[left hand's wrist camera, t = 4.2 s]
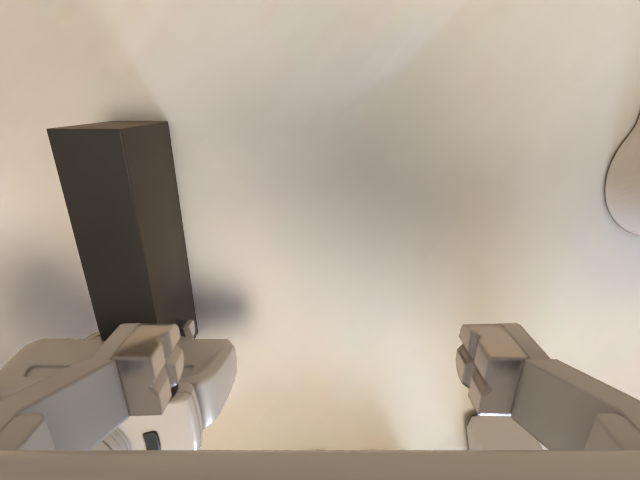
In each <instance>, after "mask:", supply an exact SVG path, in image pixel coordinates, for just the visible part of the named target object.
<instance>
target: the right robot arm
mask: <svg viewBox="0 0 640 480" xmlns="http://www.w3.org/2000/svg"><path fill="white" fill-rule="evenodd" d="M177 326H178V327H179V331H180V335H181V337H180V339H179V341H178V342H177V344H178V345H179V346H180V347H181V348H182V349H183V354H184V367H183V372H182V376H181V378H180V380H179V382H178V384H176V385H175V386H174V387H172V388H171V394H172V396H171V398H170V400H169V402H168V404H167V406H166V408H165V410H164V412H163V414H162V415H149V416H129V419H127V420H126V421H125V422H124V423H123V424H121V425H120V426H119V427H118V428H117V429H115V430H114V431H113V432H112V433H111V434H109V435H108V436H107V437H106V438H105V439H103V440H102V441H101V442H100V443H99V444H97V445H96V446H95V447H94V448H93V449H92V450H201V447H202V429H204V428H206V427H208V426H209V425H210V424H211V423H213V422H214V420H215V419H216V418H217V417H218V415H219V414H220V412H221V410H222V408H223V406H224V404H225V402H226V400H227V398H228V396H229V393H230V391H231V388H232V386H233V383H234V380H235V377H236V373H237V358H236V351H235V347H234V345H233V344H232V343H231V342H230V341H229V340H227V339H194V338H193V336H194V334H195V324H194V320H180V321H179V323H178V324H177ZM104 342H105V341H102V340H101V336H100V332H97V333H95V334H92V335H90V336H88V338H87V339H41V340H38V341H35V342H33V343H30V344H28V345H26V346H25V347H23V348H22V349H21V350H20V351H19V352H18V353H17V354H16V355H15V356H14V357H13V358H12V359H11V360H10V361H9V362H8V363H7V364H6V365H5V366H4V367H3V368H2V369H1V370H0V400H2V399H4V398H6V397H8V396H10V395H13V394H15V393H17V392H19V391H21V390H23V389H25V388H27V387H29V386H31V385H33V384H35V383H37V382H39V381H41V380H43V379H45V378H47V377H49V376H51V375H53V374H55V373H57V372H59V371H61V370H63V369H65V368H67V367H69V366H71V365H73V364H75V363H77V362H79V361H81V360H83V359H90V358H91V357H92V355H93V354H94V353H95V352H96V351H97V350H98V349H99V348H100V346H101V345H102V344H103V343H104Z"/></svg>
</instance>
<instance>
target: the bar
mask: <svg viewBox="0 0 640 480" xmlns="http://www.w3.org/2000/svg"><path fill="white" fill-rule="evenodd" d="M47 133H48V136H49V140H50V144H51V148H52V152H53V156H54V159H55V163H56V167H57V171H58V175H59V179H60V183H61V186H62V190H63V194H64V198H65V202H66V206H67V209H68V213H69V217H70V221H71V225H72V229H73V232H74V236H75V240H76V244H77V248H78V252H79V255H80V259H81V263H82V267H83V271H84V275H85V278H86V282H87V286H88V290H89V294H90V298H91V302H92V305H93V309H94V313H95V317H96V321H97V325H98V328H99V332H100V336H101V340H102V341H106V340H107V339H108V338H109V336H110V335H111V334H112V333H113V332H114V331H115V330H116V329H117V327H118V326H119V325H120V324H124V323H140V324H141V323H154V324H176V325H177V324H178V323H179V321H180V320H194V324H195V334H194V336H193V338H194V339H195V337H196V335H197V333H198V330H197V323H196V316H195V309H194V302H193V295H192V288H191V281H190V274H189V267H188V260H187V253H186V246H185V239H184V232H183V225H182V218H181V211H180V205H179V198H178V191H177V184H176V177H175V170H174V163H173V156H172V149H171V142H170V135H169V128H168V122H167V121H110V122H101V123H93V124H84V125H76V126H67V127H59V128H50V129H47Z"/></svg>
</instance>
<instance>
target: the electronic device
mask: <svg viewBox="0 0 640 480" xmlns="http://www.w3.org/2000/svg"><path fill="white" fill-rule="evenodd" d="M510 417H511V416H491V415H478V416H472V417H471V420H470V422H469V424H468V426H467V436H468V445H469V450H543V449H542V447H541V445H540V444H539V442H538V440H537V439H535V438H534V437H533V436H532V435H531V434H529V433H528V432H527V431H526V430H525V429H523V428H522V427H521V426H520V425H519V424H518V423H516V422H515V421H514V420H513V419H512V418H510Z"/></svg>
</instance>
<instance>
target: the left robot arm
mask: <svg viewBox="0 0 640 480" xmlns="http://www.w3.org/2000/svg"><path fill="white" fill-rule="evenodd" d="M605 198H606V203H607V207H608V210H609V212H610V214H611V216H612V217H613V219H614V220H615V221H616V222H617V223H618V224H619V225H620V226H621V227H622V228H624V229H625V230H627V231H629V232H631V233H634V234H637V235H640V116H639V119H638V122H637V124H636V126H635V127H634V129H633V130H632V132H631V133H630V134H629V136H628V137H627V138H626V140H625V141H624V142H623V143H622V145H621V146H620V148H619V149H618V151H617V153H616V155H615V156H614V158H613V160H612V163H611V165H610V168H609V171H608V174H607V178H606V185H605ZM180 337H181V335H180V331H179V327H178V326H177V325H176V324H154V323H141V324H140V323H124V324H120V325H119V326H118V327H117V329H116V330H115V331H114V332H113V333H112V334H111V335H110V336H109V338H108V339H107V340H106V341H105V342H104V343H103V344H102V345H101V346H100V348H99V349H98V350H97V351H96V352H95V353H94V354H93V355H92V357H91V358H90V359H83V360H81V361H79V362H77V363H75V364H73V365H71V366H69V367H67V368H65V369H63V370H61V371H59V372H57V373H55V374H53V375H51V376H49V377H47V378H45V379H43V380H41V381H39V382H37V383H35V384H33V385H31V386H29V387H27V388H25V389H23V390H21V391H19V392H17V393H15V394H13V395H10V396H8V397H6V398H4V399H2V400H0V480H640V401H639V400H637V399H635V398H633V397H631V396H629V395H627V394H625V393H623V392H621V391H619V390H617V389H615V388H613V387H611V386H609V385H607V384H605V383H603V382H601V381H599V380H597V379H595V378H593V377H591V376H589V375H587V374H585V373H583V372H581V371H579V370H577V369H575V368H573V367H571V366H569V365H567V364H565V363H563V362H561V361H559V360H557V359H550V358H549V357H548V355H547V354H546V353H545V352H544V351H543V350H542V349H541V348H540V347H539V345H538V344H537V343H536V342H535V341H534V340H533V339H532V338H531V336H530V335H529V334H528V333H527V332H526V331H525V330H524V329H523V327H522V326H521V325H519V324H517V323H499V324H463V325H462V327H461V330H460V335H459V337H460V339H461V341H462V342H463V344H462V345H461V346H460V347H459V348H458V349H457V354H456V367H457V372H458V376H459V378H460V380H461V382H462V384H464V385H465V386H466V387H468V388H469V394H468V397H469V398H470V400H471V402H472V404H473V406H474V408H475V410H476V412H477V414H478V415H491V416H511V417H510V418H512V419H513V420H514V421H515V422H516V423H518V424H519V425H520V426H521V427H522V428H523V429H525V430H526V431H527V432H528V433H529V434H531V435H532V436H533V437H534V438H535V439H537V440H538V441H539V442H540V443H541V444H543V445H544V446H545V447H546V448H547V449H549V450H92V449H93V448H94V447H95V446H96V445H97V444H99V443H100V442H101V441H102V440H103V439H105V438H106V437H107V436H108V435H109V434H111V433H112V432H113V431H114V430H115V429H117V428H118V427H119V426H120V425H121V424H123V423H124V422H125V421H126V420H127V419H129V416H149V415H162V414H163V412H164V410H165V408H166V406H167V404H168V402H169V400H170V398H171V396H172V394H171V388H172V387H174V386H175V385H176V384H178V382H179V380H180V378H181V376H182V372H183V367H184V354H183V349H182V348H181V347H180V346H179V345H178V344H177V342H178V341H179V339H180Z"/></svg>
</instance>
